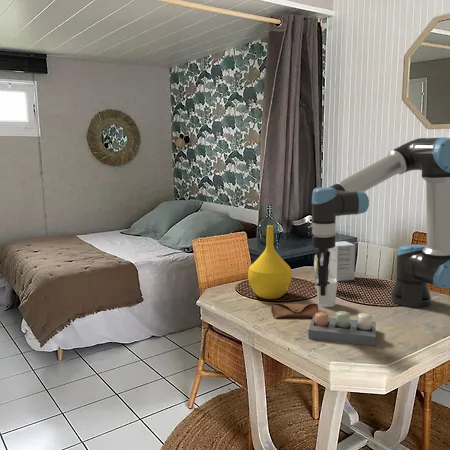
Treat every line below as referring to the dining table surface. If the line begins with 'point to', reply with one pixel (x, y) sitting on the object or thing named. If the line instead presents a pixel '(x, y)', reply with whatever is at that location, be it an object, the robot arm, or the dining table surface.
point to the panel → (343, 332)
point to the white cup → (329, 293)
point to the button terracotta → (321, 319)
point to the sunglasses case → (294, 311)
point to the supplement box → (342, 261)
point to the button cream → (364, 321)
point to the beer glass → (317, 269)
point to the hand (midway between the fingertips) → (323, 303)
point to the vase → (269, 272)
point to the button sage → (343, 319)
